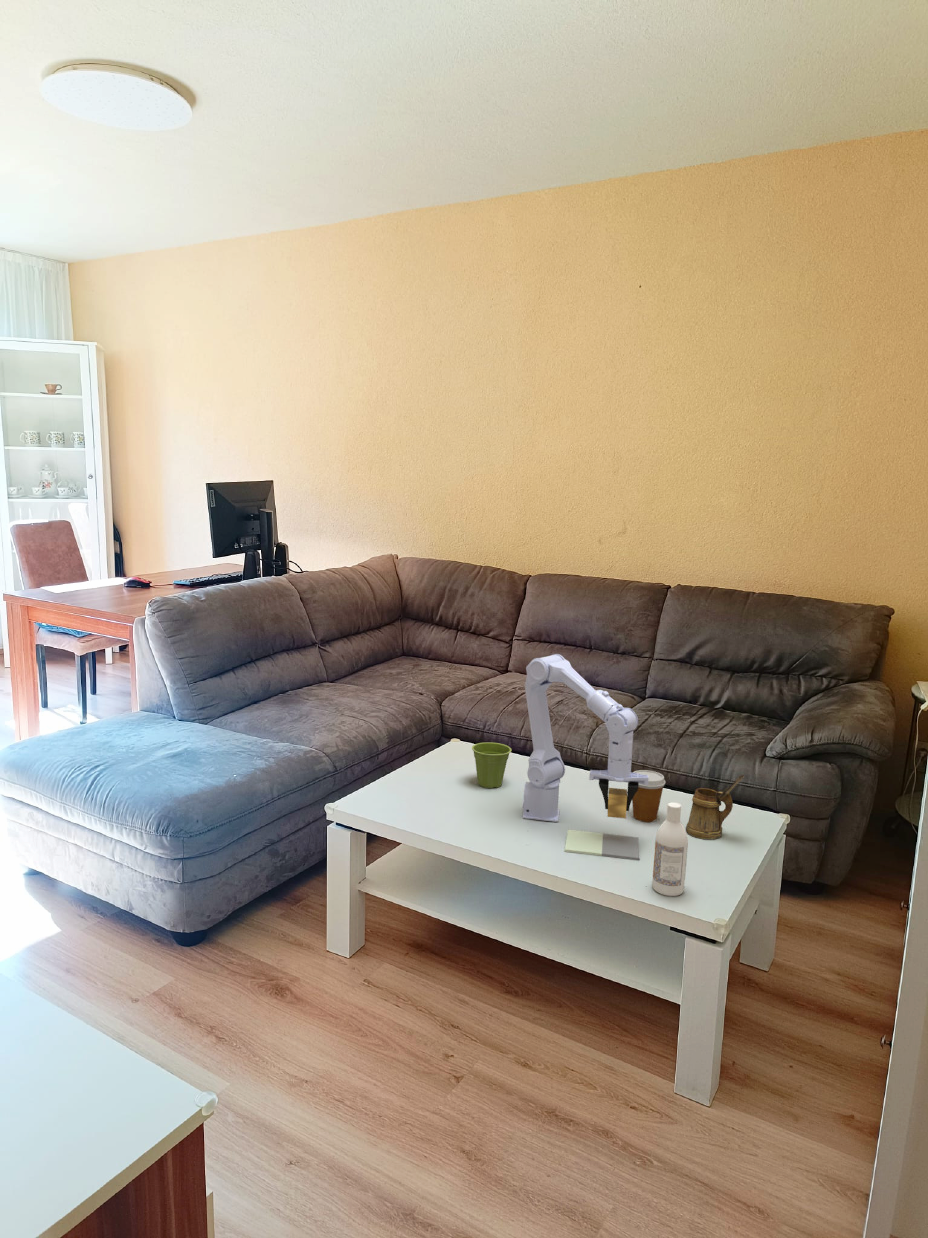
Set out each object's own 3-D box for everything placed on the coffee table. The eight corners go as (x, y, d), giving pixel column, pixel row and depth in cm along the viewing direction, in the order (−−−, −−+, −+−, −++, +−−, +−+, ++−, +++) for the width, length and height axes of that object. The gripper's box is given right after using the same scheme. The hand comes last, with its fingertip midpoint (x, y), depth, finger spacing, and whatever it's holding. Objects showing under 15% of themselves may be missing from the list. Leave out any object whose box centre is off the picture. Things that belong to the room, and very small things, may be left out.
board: (564, 851, 197) (564, 849, 197) (567, 831, 208) (567, 829, 208) (639, 860, 194) (639, 858, 193) (638, 839, 205) (638, 837, 205)
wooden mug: (732, 848, 202) (739, 780, 199) (680, 833, 210) (686, 767, 207) (743, 836, 209) (749, 770, 206) (692, 822, 217) (697, 759, 214)
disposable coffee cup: (663, 826, 214) (666, 783, 212) (627, 822, 216) (629, 779, 214) (661, 812, 223) (665, 771, 221) (627, 809, 225) (629, 768, 223)
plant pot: (510, 792, 234) (512, 755, 233) (470, 791, 234) (471, 754, 233) (509, 778, 246) (510, 742, 244) (470, 776, 246) (471, 741, 244)
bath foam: (660, 878, 185) (666, 796, 181) (689, 889, 180) (695, 804, 177) (646, 889, 179) (652, 804, 176) (675, 900, 175) (682, 813, 172)
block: (607, 816, 201) (608, 794, 200) (607, 810, 206) (608, 787, 205) (625, 818, 201) (627, 795, 200) (625, 811, 205) (626, 789, 204)
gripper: (590, 759, 198) (587, 812, 200) (650, 765, 195) (646, 817, 198) (591, 751, 205) (588, 801, 207) (649, 755, 202) (645, 807, 204)
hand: (616, 808), depth 203 cm, fingers closed on block, 4 cm apart
